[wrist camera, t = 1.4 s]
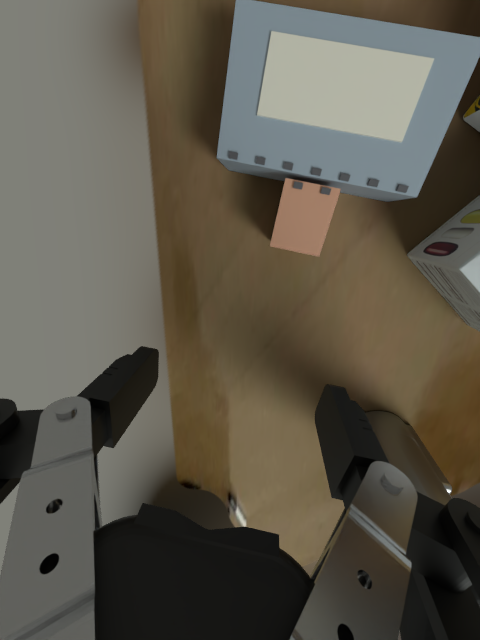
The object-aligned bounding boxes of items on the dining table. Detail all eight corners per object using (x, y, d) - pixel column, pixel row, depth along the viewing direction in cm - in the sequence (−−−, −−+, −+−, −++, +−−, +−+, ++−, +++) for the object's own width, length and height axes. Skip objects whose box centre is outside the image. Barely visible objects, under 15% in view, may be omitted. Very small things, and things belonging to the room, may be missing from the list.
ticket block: (434, 83, 22) (489, 36, 16) (387, 201, 26) (418, 197, 20) (245, 50, 23) (235, -5, 17) (228, 170, 27) (216, 157, 21)
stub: (327, 195, 26) (341, 188, 21) (310, 249, 29) (319, 257, 23) (283, 186, 27) (285, 177, 21) (270, 241, 29) (269, 246, 24)
